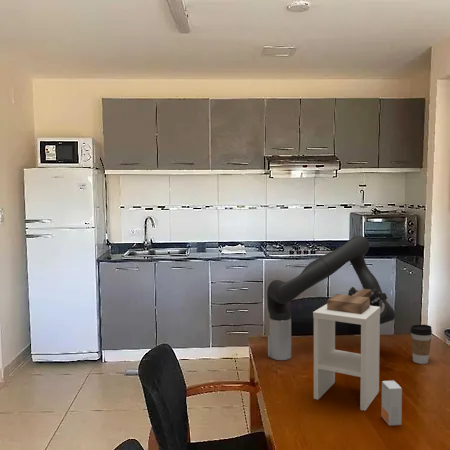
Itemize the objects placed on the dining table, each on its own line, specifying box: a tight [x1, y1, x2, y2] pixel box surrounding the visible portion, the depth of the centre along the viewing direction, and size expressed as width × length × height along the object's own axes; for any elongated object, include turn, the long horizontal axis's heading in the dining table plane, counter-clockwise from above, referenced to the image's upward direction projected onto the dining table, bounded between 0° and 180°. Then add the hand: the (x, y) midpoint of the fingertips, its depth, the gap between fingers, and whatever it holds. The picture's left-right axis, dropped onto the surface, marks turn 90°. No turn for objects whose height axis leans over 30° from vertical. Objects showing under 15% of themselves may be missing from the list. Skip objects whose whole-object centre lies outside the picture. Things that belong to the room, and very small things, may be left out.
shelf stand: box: [312, 303, 381, 412], centre depth 172 cm, size 18×18×31 cm
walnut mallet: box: [326, 288, 372, 314], centre depth 179 cm, size 12×28×4 cm, turn 148°
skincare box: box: [381, 380, 403, 426], centre depth 154 cm, size 6×4×12 cm
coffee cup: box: [409, 324, 433, 365], centre depth 203 cm, size 8×8×15 cm
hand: (363, 290), depth 186 cm, fingers open, 8 cm apart
